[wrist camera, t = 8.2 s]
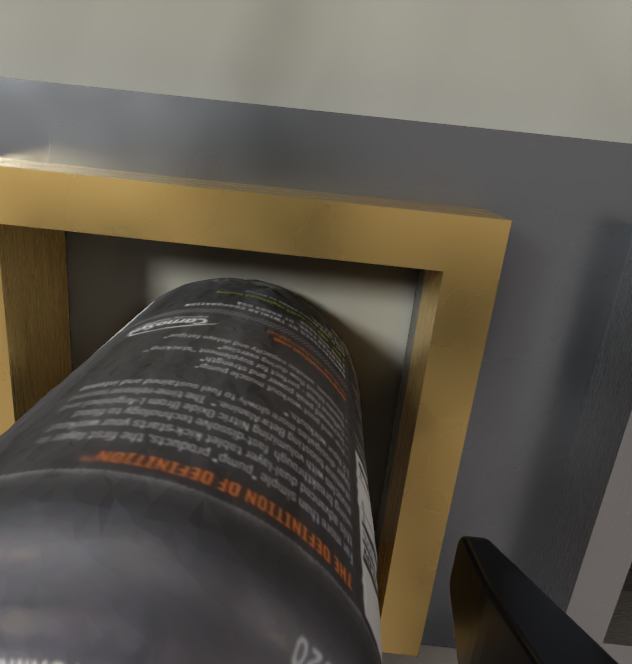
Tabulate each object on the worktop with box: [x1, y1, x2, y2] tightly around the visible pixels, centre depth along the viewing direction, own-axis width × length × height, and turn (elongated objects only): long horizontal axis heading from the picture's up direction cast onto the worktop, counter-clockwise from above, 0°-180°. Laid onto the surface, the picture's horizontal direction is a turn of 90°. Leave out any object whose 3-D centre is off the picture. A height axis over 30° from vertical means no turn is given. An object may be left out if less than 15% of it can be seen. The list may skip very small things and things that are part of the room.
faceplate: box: [0, 77, 632, 664], centre depth 12 cm, size 13×24×2 cm, turn 84°
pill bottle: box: [0, 278, 383, 664], centre depth 8 cm, size 6×6×11 cm
